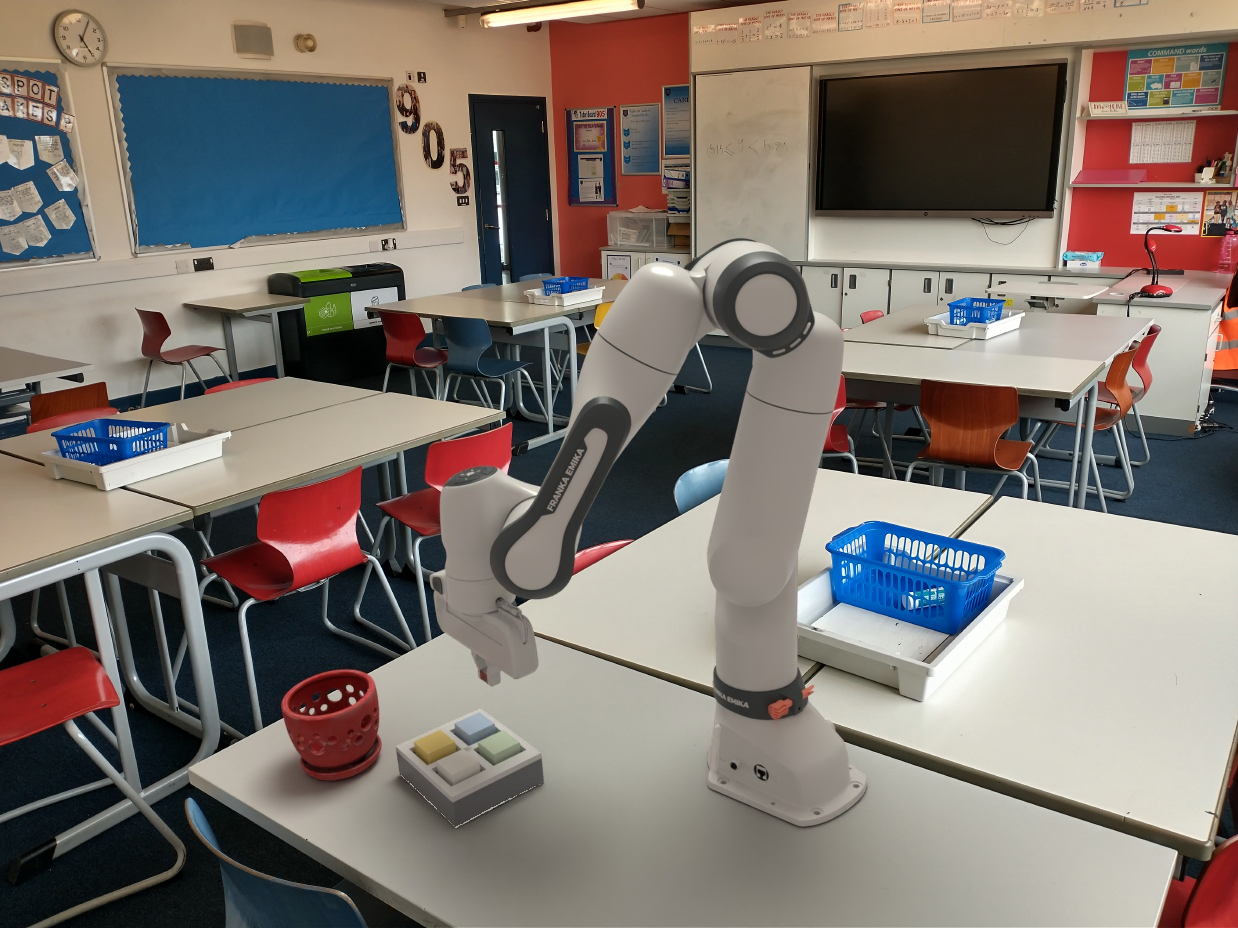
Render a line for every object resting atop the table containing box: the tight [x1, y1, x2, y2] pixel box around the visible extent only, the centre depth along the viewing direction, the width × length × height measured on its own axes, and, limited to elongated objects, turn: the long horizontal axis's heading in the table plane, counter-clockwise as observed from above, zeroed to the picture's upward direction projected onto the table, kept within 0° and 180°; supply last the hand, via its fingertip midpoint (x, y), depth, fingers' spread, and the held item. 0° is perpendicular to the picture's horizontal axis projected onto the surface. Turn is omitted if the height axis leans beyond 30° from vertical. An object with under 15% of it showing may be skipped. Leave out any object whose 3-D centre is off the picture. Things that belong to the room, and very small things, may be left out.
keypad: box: [394, 708, 545, 828], centre depth 133 cm, size 16×14×5 cm
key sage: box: [478, 730, 521, 766], centre depth 132 cm, size 4×4×3 cm
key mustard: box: [414, 730, 456, 765], centre depth 133 cm, size 4×4×3 cm
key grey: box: [436, 749, 481, 787], centre depth 128 cm, size 4×4×3 cm
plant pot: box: [281, 669, 383, 781], centre depth 137 cm, size 13×13×12 cm
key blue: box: [454, 712, 496, 746], centre depth 136 cm, size 4×4×3 cm
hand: (489, 681), depth 128 cm, fingers closed
